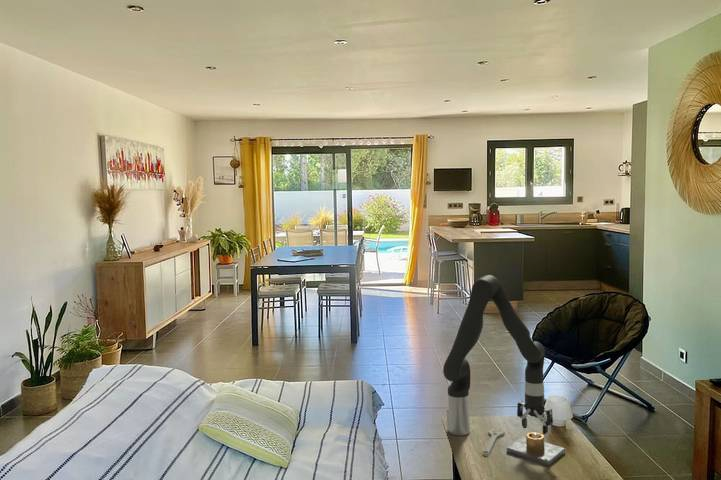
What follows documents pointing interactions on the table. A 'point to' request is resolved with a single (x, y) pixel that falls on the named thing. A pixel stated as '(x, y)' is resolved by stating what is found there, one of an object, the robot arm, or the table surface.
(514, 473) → the table surface
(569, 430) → the table surface
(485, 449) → the adjustable wrench
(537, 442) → the wooden octagonal ring
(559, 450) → the block
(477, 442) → the table surface
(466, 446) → the table surface
